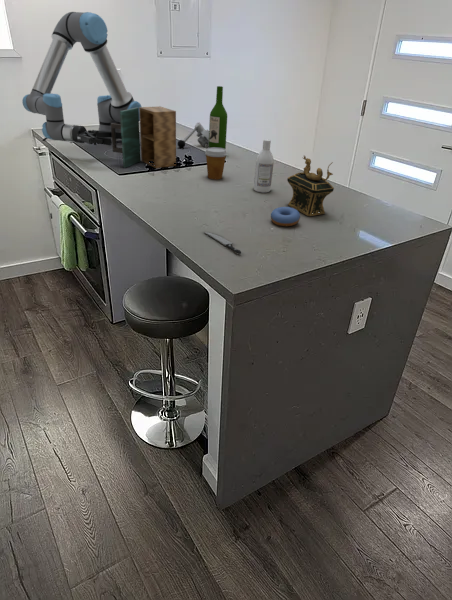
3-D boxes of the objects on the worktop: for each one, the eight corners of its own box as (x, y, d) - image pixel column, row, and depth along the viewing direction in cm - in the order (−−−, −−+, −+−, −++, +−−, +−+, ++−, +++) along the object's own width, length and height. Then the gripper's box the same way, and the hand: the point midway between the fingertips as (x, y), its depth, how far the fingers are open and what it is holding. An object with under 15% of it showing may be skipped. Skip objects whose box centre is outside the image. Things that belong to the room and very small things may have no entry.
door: (111, 165, 197) (106, 109, 185) (127, 159, 209) (124, 106, 196) (125, 167, 195) (121, 111, 183) (140, 161, 207) (138, 107, 194)
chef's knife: (211, 231, 138) (203, 232, 137) (211, 228, 138) (203, 229, 136) (247, 253, 125) (238, 255, 124) (247, 250, 125) (239, 251, 123)
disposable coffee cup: (229, 176, 193) (230, 149, 186) (219, 182, 185) (221, 153, 179) (210, 173, 196) (211, 146, 190) (200, 178, 188) (201, 149, 182)
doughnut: (279, 229, 143) (280, 216, 140) (264, 219, 150) (266, 206, 148) (304, 226, 146) (306, 213, 144) (289, 216, 154) (291, 204, 152)
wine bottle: (205, 155, 224) (207, 86, 207) (212, 152, 232) (215, 85, 215) (221, 158, 222) (224, 88, 205) (227, 154, 229) (231, 86, 212)
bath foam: (273, 192, 177) (279, 141, 167) (258, 193, 175) (263, 142, 164) (265, 187, 183) (270, 137, 172) (250, 188, 180) (255, 138, 169)
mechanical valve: (218, 142, 240) (202, 120, 230) (197, 165, 239) (180, 145, 229) (209, 140, 248) (194, 119, 238) (189, 162, 247) (172, 142, 237)
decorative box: (282, 203, 165) (289, 150, 155) (302, 201, 169) (310, 149, 159) (314, 222, 151) (324, 164, 140) (336, 218, 155) (347, 162, 144)
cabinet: (155, 168, 198) (153, 112, 185) (141, 161, 207) (138, 107, 195) (176, 165, 204) (175, 111, 191) (161, 159, 213) (160, 106, 201)
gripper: (90, 137, 209) (131, 142, 205) (60, 147, 188) (105, 153, 184) (89, 121, 205) (130, 125, 201) (58, 129, 184) (103, 135, 180)
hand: (118, 139), depth 192 cm, fingers open, 13 cm apart
